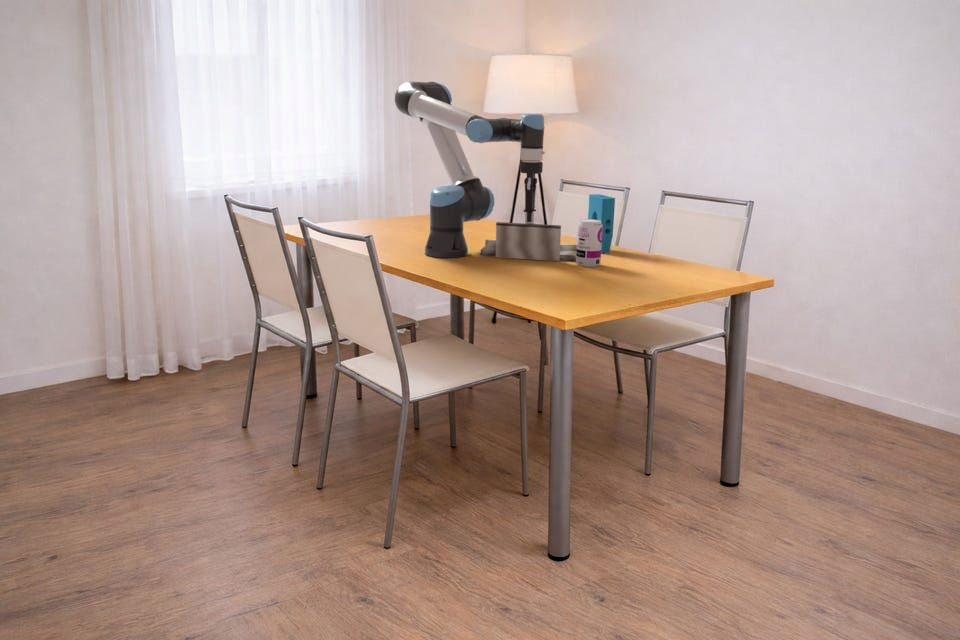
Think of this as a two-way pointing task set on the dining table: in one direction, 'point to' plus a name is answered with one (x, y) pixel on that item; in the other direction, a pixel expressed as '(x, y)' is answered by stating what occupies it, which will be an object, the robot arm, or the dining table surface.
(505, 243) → the plank
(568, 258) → the floorboard
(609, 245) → the block
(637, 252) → the dining table surface
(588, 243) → the supplement can
